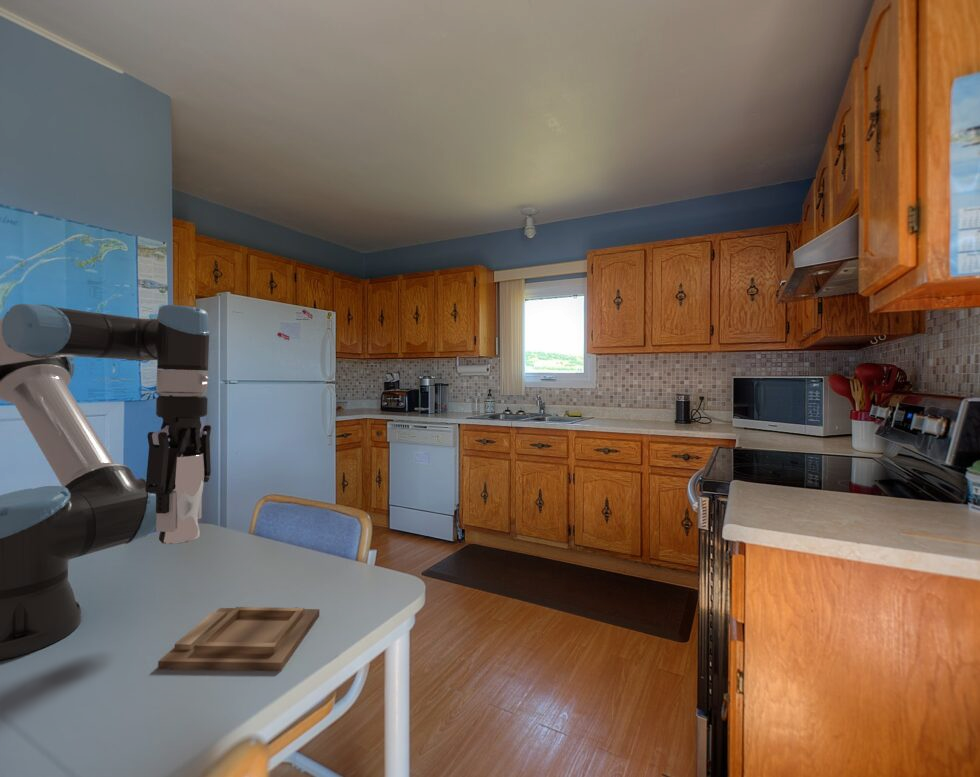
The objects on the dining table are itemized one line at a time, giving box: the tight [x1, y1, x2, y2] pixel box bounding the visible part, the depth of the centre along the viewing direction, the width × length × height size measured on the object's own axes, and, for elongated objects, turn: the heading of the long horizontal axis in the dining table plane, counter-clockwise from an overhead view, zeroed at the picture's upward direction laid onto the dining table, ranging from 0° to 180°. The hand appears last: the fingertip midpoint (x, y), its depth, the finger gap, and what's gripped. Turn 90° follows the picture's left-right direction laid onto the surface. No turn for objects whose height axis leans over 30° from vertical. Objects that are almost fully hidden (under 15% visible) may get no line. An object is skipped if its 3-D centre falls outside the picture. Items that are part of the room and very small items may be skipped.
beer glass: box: [158, 452, 205, 545], centre depth 81 cm, size 7×7×15 cm
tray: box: [157, 606, 320, 672], centre depth 76 cm, size 18×16×2 cm
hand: (179, 524), depth 81 cm, fingers closed on beer glass, 6 cm apart
